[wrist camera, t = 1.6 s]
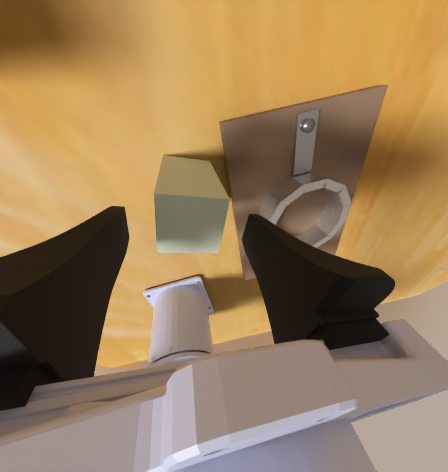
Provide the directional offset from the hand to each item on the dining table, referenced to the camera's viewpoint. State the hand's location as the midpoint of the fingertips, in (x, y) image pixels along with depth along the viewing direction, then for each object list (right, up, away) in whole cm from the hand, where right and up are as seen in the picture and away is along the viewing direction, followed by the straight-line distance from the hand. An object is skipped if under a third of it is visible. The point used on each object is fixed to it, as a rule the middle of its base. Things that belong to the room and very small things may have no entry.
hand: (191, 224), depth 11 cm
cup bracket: (+10, +3, +10) cm, 15 cm away
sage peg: (-2, +5, +6) cm, 8 cm away
